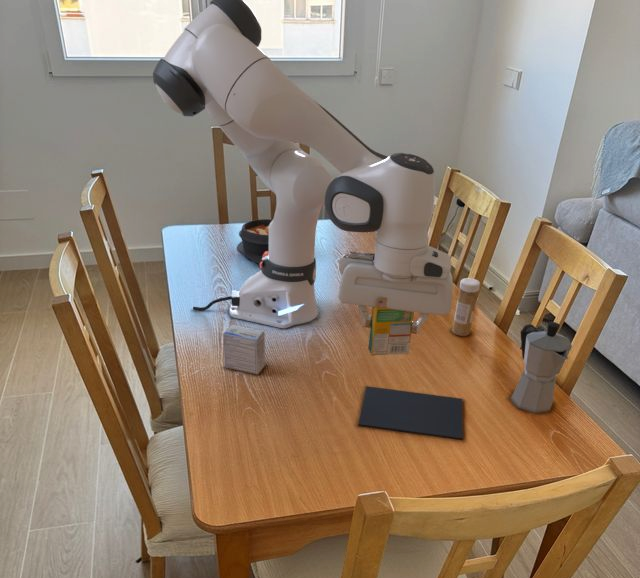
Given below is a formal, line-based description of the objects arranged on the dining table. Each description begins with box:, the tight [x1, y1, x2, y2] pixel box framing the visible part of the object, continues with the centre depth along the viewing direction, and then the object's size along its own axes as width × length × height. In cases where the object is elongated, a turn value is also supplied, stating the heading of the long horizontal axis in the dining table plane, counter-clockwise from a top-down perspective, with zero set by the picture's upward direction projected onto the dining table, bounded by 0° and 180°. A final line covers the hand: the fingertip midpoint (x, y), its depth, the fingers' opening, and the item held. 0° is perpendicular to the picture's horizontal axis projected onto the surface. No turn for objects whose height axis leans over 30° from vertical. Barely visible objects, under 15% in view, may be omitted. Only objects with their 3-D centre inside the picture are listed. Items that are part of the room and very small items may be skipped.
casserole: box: [236, 218, 273, 264], centre depth 190 cm, size 25×19×8 cm
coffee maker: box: [509, 321, 573, 414], centre depth 127 cm, size 15×9×18 cm, turn 17°
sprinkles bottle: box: [451, 277, 481, 337], centre depth 152 cm, size 5×5×14 cm
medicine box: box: [222, 324, 266, 375], centre depth 135 cm, size 8×4×9 cm, turn 71°
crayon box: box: [367, 298, 415, 357], centre depth 116 cm, size 7×3×12 cm, turn 99°
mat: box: [357, 386, 464, 441], centre depth 127 cm, size 20×14×1 cm
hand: (391, 329), depth 116 cm, fingers closed on crayon box, 7 cm apart
